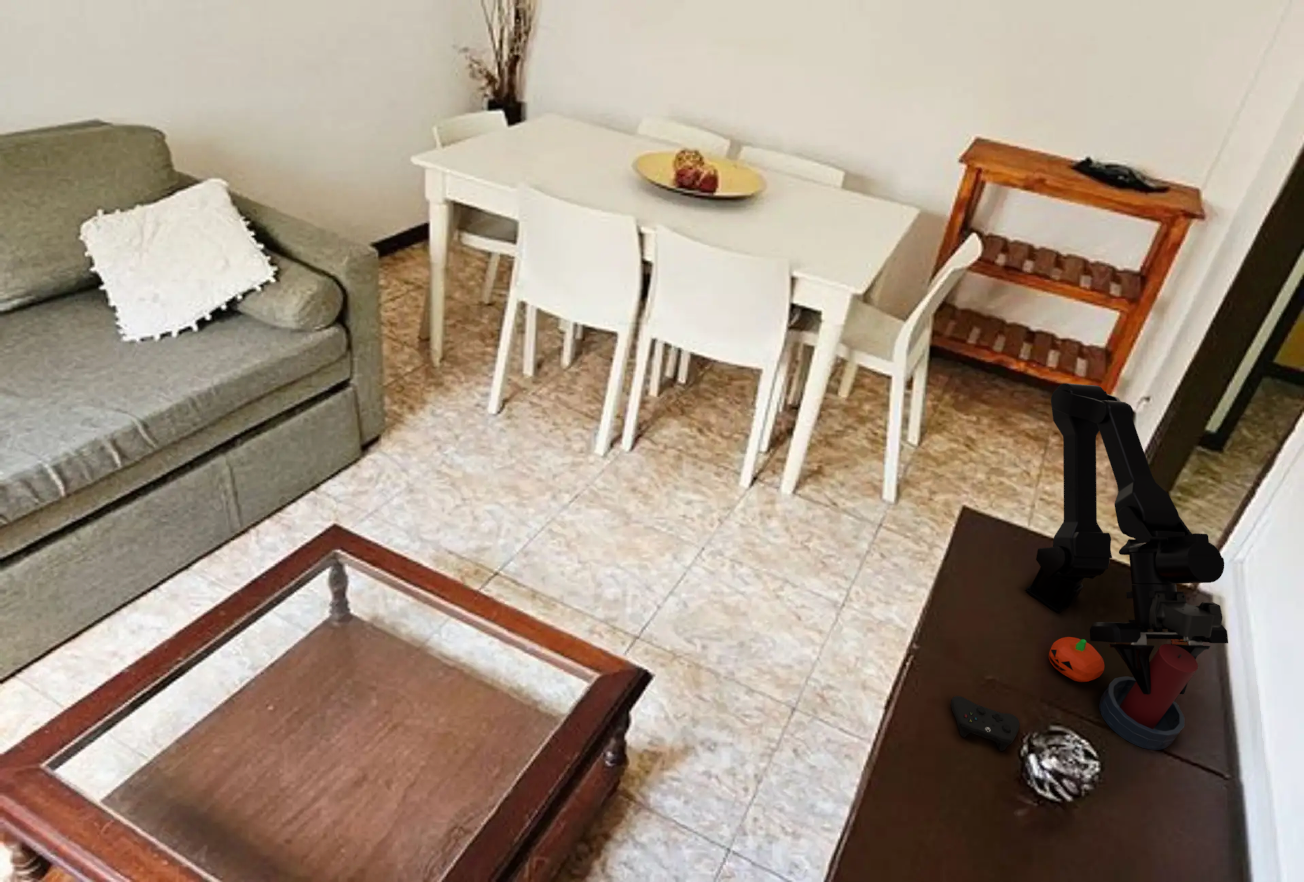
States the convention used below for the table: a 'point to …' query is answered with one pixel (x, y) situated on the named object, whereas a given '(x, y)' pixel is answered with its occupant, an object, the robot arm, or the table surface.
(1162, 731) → the blue round dish
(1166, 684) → the candle
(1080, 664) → the pumpkin
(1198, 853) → the table surface
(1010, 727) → the gaming controller
